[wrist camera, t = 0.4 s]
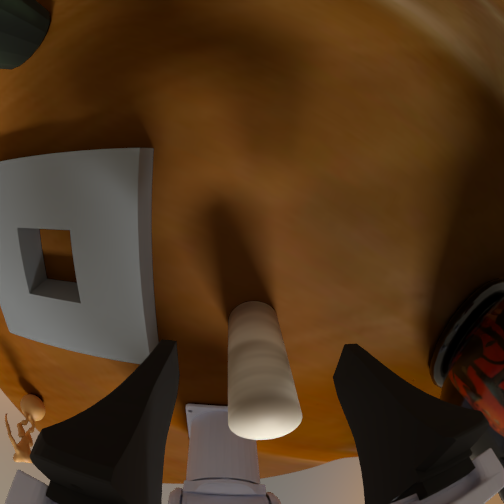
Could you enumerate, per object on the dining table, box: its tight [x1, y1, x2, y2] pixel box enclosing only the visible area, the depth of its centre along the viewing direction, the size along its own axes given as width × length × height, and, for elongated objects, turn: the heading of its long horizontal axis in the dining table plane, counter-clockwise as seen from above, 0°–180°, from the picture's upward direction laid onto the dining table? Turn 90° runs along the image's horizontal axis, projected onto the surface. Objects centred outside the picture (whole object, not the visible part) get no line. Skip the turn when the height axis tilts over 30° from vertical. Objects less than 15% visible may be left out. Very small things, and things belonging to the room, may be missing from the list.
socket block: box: [0, 148, 159, 364], centre depth 18 cm, size 16×16×3 cm
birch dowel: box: [228, 301, 302, 440], centre depth 17 cm, size 4×4×10 cm
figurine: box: [5, 394, 45, 463], centre depth 20 cm, size 8×6×12 cm
